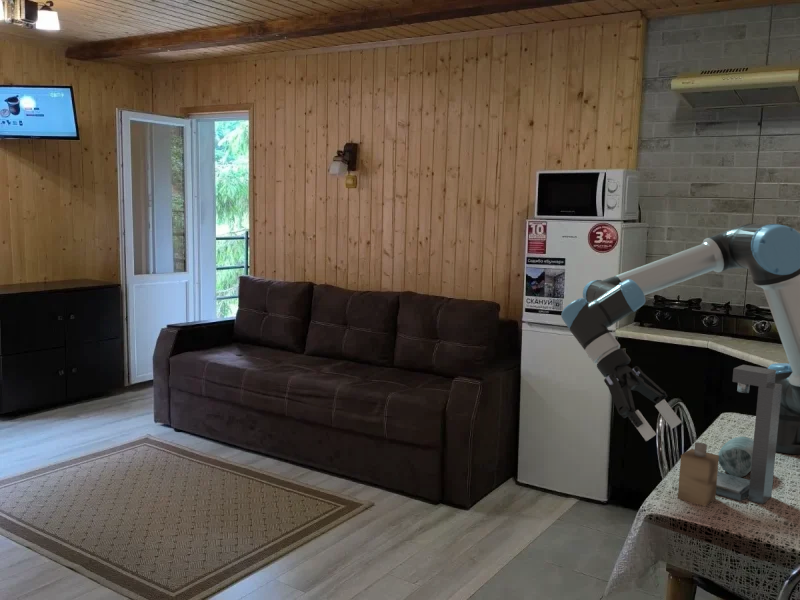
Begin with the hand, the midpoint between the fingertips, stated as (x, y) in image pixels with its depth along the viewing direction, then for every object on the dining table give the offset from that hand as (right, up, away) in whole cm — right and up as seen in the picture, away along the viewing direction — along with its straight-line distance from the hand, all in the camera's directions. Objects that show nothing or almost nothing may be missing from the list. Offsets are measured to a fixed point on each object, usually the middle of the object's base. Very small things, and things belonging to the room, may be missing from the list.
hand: (664, 431), depth 162 cm
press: (+16, -14, +1) cm, 21 cm away
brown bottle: (+6, -14, -3) cm, 16 cm away
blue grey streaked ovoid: (+23, -13, +14) cm, 30 cm away
